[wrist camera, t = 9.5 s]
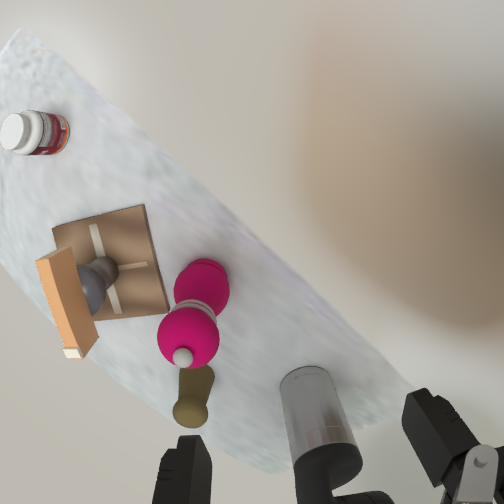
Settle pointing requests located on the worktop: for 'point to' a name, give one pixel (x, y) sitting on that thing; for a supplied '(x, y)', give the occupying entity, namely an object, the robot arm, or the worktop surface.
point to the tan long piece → (72, 299)
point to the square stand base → (118, 261)
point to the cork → (193, 396)
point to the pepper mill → (194, 315)
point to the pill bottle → (34, 133)
